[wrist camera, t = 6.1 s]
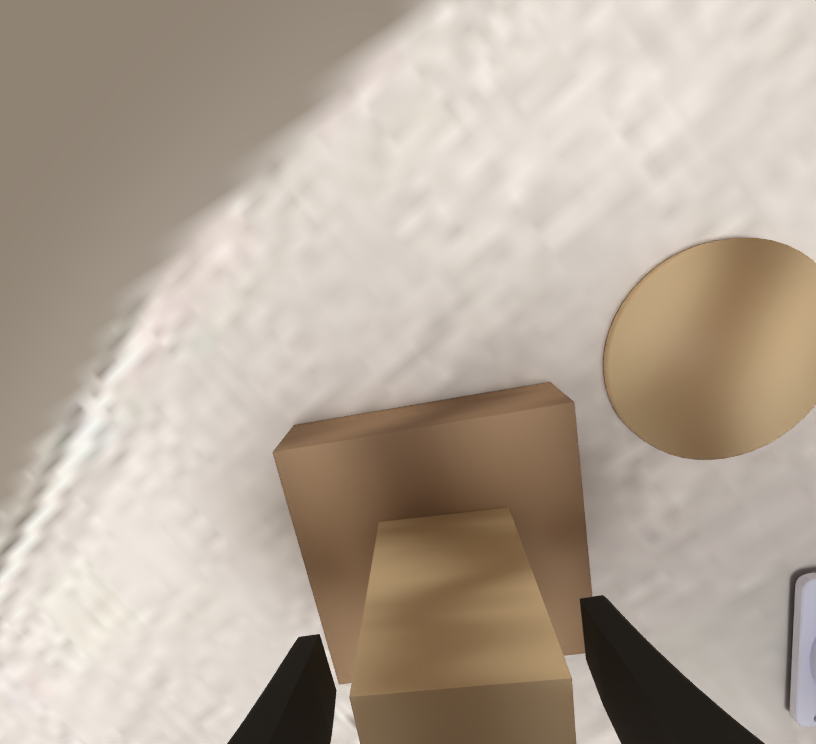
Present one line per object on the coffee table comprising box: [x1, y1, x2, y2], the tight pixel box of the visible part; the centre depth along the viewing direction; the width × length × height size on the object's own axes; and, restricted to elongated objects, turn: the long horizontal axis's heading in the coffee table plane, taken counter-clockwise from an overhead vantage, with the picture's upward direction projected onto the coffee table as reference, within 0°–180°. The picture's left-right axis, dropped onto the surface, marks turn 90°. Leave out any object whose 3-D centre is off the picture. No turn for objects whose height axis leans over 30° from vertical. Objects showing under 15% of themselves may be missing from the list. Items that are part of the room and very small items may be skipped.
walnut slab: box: [273, 382, 592, 684], centre depth 16 cm, size 10×10×3 cm
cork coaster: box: [604, 238, 816, 460], centre depth 15 cm, size 8×8×1 cm
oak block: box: [349, 507, 576, 744], centre depth 12 cm, size 4×4×6 cm
